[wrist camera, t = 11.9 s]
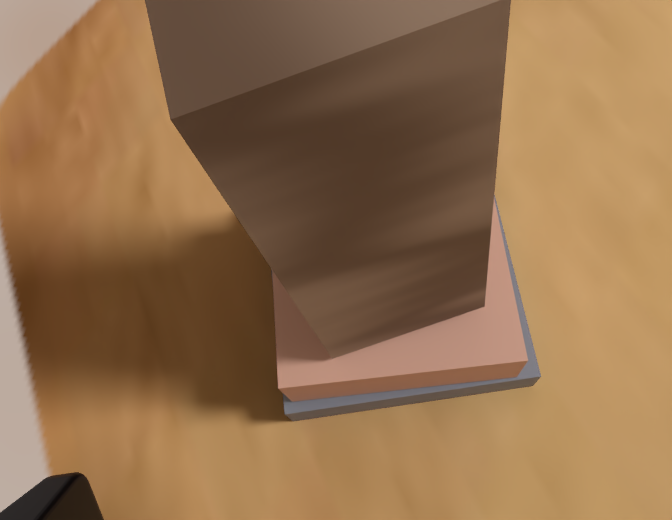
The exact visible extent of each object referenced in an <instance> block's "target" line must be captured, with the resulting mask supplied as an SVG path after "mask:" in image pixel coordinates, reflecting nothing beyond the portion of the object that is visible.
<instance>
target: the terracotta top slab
mask: <svg viewBox="0 0 672 520" xmlns="http://www.w3.org/2000/svg"><path fill="white" fill-rule="evenodd" d="M272 277H273V296H274V316H275V335H276V355H277V375H278V389H279V390H280V391H281V392H282V393H283V394H285V395H286V396H287V397H288V398H289V399H290V400H291V401H292V402H295V401H305V400H314V399H323V398H332V397H341V396H350V395H359V394H368V393H378V392H387V391H396V390H405V389H414V388H423V387H432V386H441V385H450V384H459V383H468V382H478V381H487V380H496V379H505V378H514V377H517V376H518V375H519V373H520V372H521V370H522V369H523V367H524V366H525V365H526V363H527V362H528V357H527V352H526V348H525V343H524V338H523V333H522V328H521V324H520V319H519V314H518V309H517V304H516V300H515V295H514V290H513V285H512V280H511V276H510V271H509V266H508V261H507V257H506V252H505V247H504V242H503V237H502V233H501V228H500V223H499V218H498V213H497V209H496V204H495V199H494V203H493V214H492V226H491V238H490V249H489V261H488V273H487V285H486V296H485V307H482V308H479V309H476V310H473V311H470V312H467V313H465V314H462V315H459V316H456V317H453V318H450V319H447V320H444V321H441V322H438V323H435V324H432V325H430V326H427V327H424V328H421V329H418V330H415V331H412V332H409V333H406V334H403V335H400V336H397V337H395V338H392V339H389V340H386V341H383V342H380V343H377V344H374V345H371V346H368V347H365V348H362V349H359V350H357V351H354V352H351V353H348V354H345V355H342V356H339V357H336V358H333V359H332V358H331V356H330V355H329V353H328V352H327V350H326V349H325V347H324V346H323V344H322V343H321V341H320V340H319V338H318V337H317V335H316V334H315V332H314V331H313V330H312V328H311V327H310V325H309V324H308V322H307V321H306V319H305V318H304V316H303V315H302V313H301V312H300V310H299V309H298V307H297V306H296V304H295V303H294V301H293V300H292V298H291V297H290V296H289V294H288V293H287V291H286V290H285V288H284V287H283V285H282V284H281V282H280V281H279V279H278V278H277V276H276V275H275V273H274V272H273V270H272Z"/></svg>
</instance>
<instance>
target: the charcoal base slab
mask: <svg viewBox="0 0 672 520" xmlns="http://www.w3.org/2000/svg"><path fill="white" fill-rule="evenodd" d="M494 199H495V195H494ZM495 204H496V209H497V213H498V218H499V223H500V228H501V233H502V237H503V242H504V247H505V252H506V257H507V261H508V266H509V271H510V276H511V280H512V285H513V290H514V295H515V300H516V304H517V309H518V314H519V319H520V324H521V328H522V333H523V338H524V343H525V348H526V352H527V357H528V362H527V363H526V365H525V366H524V367H523V369H522V370H521V372H520V373H519V375H518V376H517V377H514V378H505V379H496V380H487V381H478V382H468V383H459V384H450V385H441V386H432V387H423V388H414V389H405V390H396V391H387V392H378V393H368V394H359V395H350V396H341V397H332V398H323V399H314V400H305V401H295V402H292V401H291V400H290V399H289V398H288V397H287V396H286V395H285V394H283V401H284V412H285V415H286V416H287V417H288V418H290V419H291V420H292V421H299V420H306V419H312V418H319V417H326V416H333V415H339V414H346V413H353V412H360V411H367V410H373V409H380V408H387V407H394V406H400V405H407V404H414V403H421V402H427V401H434V400H441V399H448V398H455V397H461V396H468V395H475V394H482V393H488V392H495V391H502V390H509V389H516V388H522V387H529V386H533V385H534V384H535V383H536V382H537V380H538V379H539V378H540V377H541V375H540V371H539V367H538V363H537V359H536V355H535V351H534V347H533V343H532V339H531V335H530V332H529V328H528V324H527V320H526V316H525V312H524V308H523V304H522V300H521V296H520V292H519V289H518V285H517V281H516V277H515V273H514V269H513V265H512V261H511V257H510V253H509V250H508V246H507V242H506V238H505V234H504V230H503V226H502V222H501V218H500V214H499V210H498V207H497V203H496V199H495ZM271 272H272V269H271ZM272 282H273V277H272Z"/></svg>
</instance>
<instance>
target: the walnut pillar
mask: <svg viewBox="0 0 672 520" xmlns="http://www.w3.org/2000/svg"><path fill="white" fill-rule="evenodd" d="M145 3H146V7H147V12H148V17H149V21H150V26H151V31H152V35H153V40H154V45H155V49H156V54H157V59H158V63H159V68H160V73H161V77H162V82H163V87H164V91H165V96H166V101H167V105H168V110H169V115H170V119H171V121H172V122H173V124H174V125H175V127H176V128H177V130H178V131H179V133H180V134H181V136H182V137H183V139H184V140H185V142H186V143H187V145H188V146H189V148H190V149H191V151H192V152H193V153H194V155H195V156H196V158H197V159H198V161H199V162H200V164H201V165H202V167H203V168H204V170H205V171H206V173H207V174H208V176H209V177H210V179H211V180H212V182H213V183H214V185H215V186H216V187H217V189H218V190H219V192H220V193H221V195H222V196H223V198H224V199H225V201H226V202H227V204H228V205H229V207H230V208H231V210H232V211H233V213H234V214H235V216H236V217H237V219H238V220H239V222H240V223H241V224H242V226H243V227H244V229H245V230H246V232H247V233H248V235H249V236H250V238H251V239H252V241H253V242H254V244H255V245H256V247H257V248H258V250H259V251H260V253H261V254H262V256H263V257H264V259H265V260H266V261H267V263H268V264H269V266H270V267H271V269H272V270H273V272H274V273H275V275H276V276H277V278H278V279H279V281H280V282H281V284H282V285H283V287H284V288H285V290H286V291H287V293H288V294H289V296H290V297H291V298H292V300H293V301H294V303H295V304H296V306H297V307H298V309H299V310H300V312H301V313H302V315H303V316H304V318H305V319H306V321H307V322H308V324H309V325H310V327H311V328H312V330H313V331H314V332H315V334H316V335H317V337H318V338H319V340H320V341H321V343H322V344H323V346H324V347H325V349H326V350H327V352H328V353H329V355H330V356H331V358H332V359H333V358H336V357H339V356H342V355H345V354H348V353H351V352H354V351H357V350H359V349H362V348H365V347H368V346H371V345H374V344H377V343H380V342H383V341H386V340H389V339H392V338H395V337H397V336H400V335H403V334H406V333H409V332H412V331H415V330H418V329H421V328H424V327H427V326H430V325H432V324H435V323H438V322H441V321H444V320H447V319H450V318H453V317H456V316H459V315H462V314H465V313H467V312H470V311H473V310H476V309H479V308H482V307H485V296H486V285H487V273H488V261H489V249H490V238H491V226H492V214H493V203H494V191H495V179H496V167H497V156H498V144H499V132H500V121H501V109H502V97H503V86H504V74H505V62H506V50H507V39H508V27H509V15H510V4H511V0H145Z"/></svg>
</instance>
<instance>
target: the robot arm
mask: <svg viewBox="0 0 672 520" xmlns="http://www.w3.org/2000/svg"><path fill="white" fill-rule="evenodd" d="M0 520H104V519H103V516H102V514H101V511H100V509H99V506H98V504H97V501H96V499H95V496H94V494H93V491H92V489H91V486H90V484H89V482H88V480H87V478H86V477H85V476H84V475H83V474H81V473H79V472H74V473H68V474H61V475H54V476H50V477H47V478H45V479H44V480H43V481H41V482H40V483H39V484H37V485H36V486H35V487H34V488H32V489H31V490H30V491H28V492H27V493H25V494H24V495H23V496H22V497H20V498H19V499H18V500H16V501H15V502H14V503H12V504H11V505H10V506H8V507H7V508H6V509H5V510H3V511H2V512H1V513H0Z"/></svg>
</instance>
